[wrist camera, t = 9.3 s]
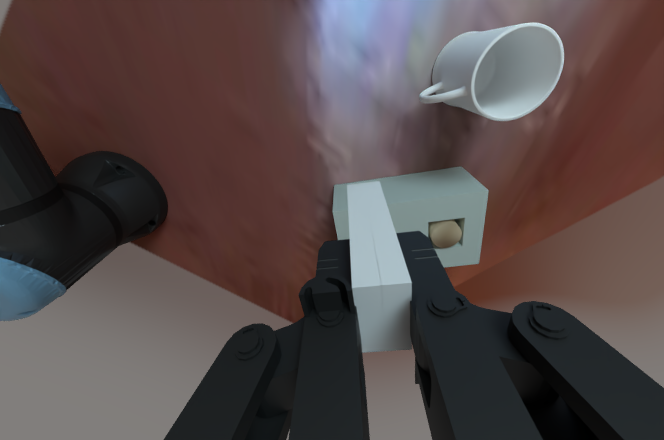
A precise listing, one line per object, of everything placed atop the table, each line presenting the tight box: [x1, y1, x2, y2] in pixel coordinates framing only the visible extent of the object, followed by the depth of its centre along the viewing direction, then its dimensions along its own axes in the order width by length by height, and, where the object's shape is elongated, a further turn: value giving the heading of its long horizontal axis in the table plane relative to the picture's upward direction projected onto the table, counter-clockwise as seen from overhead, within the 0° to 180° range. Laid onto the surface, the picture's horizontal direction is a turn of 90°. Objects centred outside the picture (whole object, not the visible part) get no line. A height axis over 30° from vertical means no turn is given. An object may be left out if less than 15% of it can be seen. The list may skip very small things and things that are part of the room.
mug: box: [419, 23, 564, 121], centre depth 30 cm, size 12×8×12 cm
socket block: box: [333, 166, 489, 267], centre depth 42 cm, size 20×12×9 cm, turn 100°
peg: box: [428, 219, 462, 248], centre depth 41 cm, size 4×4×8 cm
